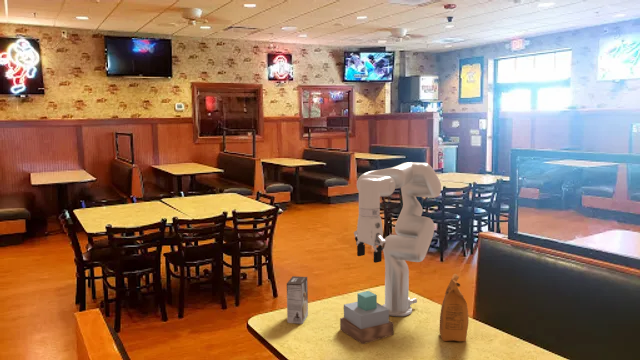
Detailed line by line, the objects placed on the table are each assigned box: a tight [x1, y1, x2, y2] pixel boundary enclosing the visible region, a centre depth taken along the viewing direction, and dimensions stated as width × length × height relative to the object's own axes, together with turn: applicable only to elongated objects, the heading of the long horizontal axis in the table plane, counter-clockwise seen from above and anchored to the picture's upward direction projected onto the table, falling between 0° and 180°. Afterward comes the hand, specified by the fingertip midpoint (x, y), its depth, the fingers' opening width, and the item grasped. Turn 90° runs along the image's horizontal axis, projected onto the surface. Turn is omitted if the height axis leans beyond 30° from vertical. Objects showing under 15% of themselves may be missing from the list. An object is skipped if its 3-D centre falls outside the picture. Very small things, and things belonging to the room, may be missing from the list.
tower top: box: [343, 301, 390, 329], centre depth 180 cm, size 12×12×5 cm
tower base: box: [339, 316, 395, 345], centre depth 181 cm, size 14×14×5 cm
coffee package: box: [439, 273, 469, 342], centre depth 176 cm, size 10×12×22 cm
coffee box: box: [286, 275, 309, 325], centre depth 192 cm, size 9×6×16 cm
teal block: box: [357, 290, 378, 311], centre depth 180 cm, size 5×5×5 cm
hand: (369, 258), depth 177 cm, fingers open, 9 cm apart
